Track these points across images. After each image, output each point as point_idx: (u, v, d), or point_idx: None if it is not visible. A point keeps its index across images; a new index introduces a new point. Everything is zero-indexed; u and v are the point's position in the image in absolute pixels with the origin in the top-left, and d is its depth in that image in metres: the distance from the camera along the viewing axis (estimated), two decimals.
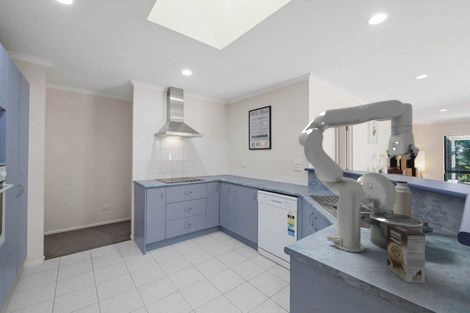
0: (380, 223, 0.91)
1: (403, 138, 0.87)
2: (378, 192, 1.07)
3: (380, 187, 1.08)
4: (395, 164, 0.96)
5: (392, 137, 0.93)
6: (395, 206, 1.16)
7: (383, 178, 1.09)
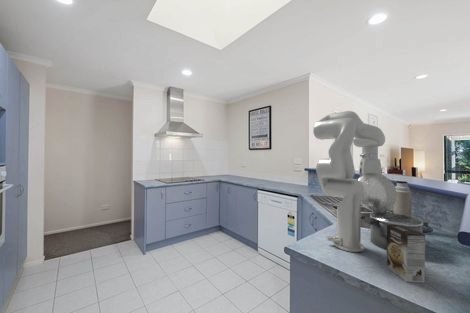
0: (380, 223, 0.91)
1: (380, 164, 1.10)
2: (378, 192, 1.07)
3: (380, 187, 1.08)
4: None
5: (369, 161, 1.10)
6: (395, 206, 1.16)
7: (383, 178, 1.09)
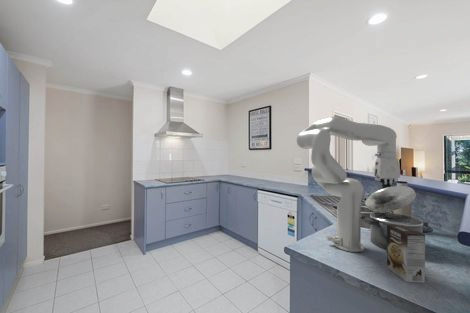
0: (380, 223, 0.91)
1: (398, 164, 0.97)
2: (392, 201, 0.97)
3: (398, 198, 0.95)
4: None
5: (386, 161, 0.97)
6: None
7: (409, 192, 0.92)
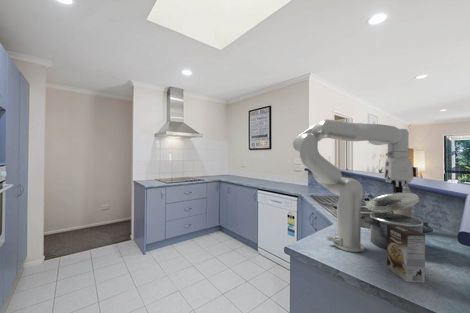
0: (380, 223, 0.91)
1: (411, 164, 0.90)
2: (393, 204, 0.96)
3: (401, 202, 0.94)
4: None
5: (398, 161, 0.90)
6: None
7: (412, 198, 0.90)
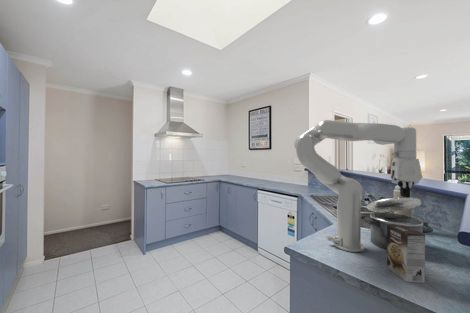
0: (380, 223, 0.91)
1: (419, 165, 0.86)
2: (394, 206, 0.96)
3: (402, 205, 0.93)
4: None
5: (405, 161, 0.86)
6: None
7: (414, 202, 0.89)
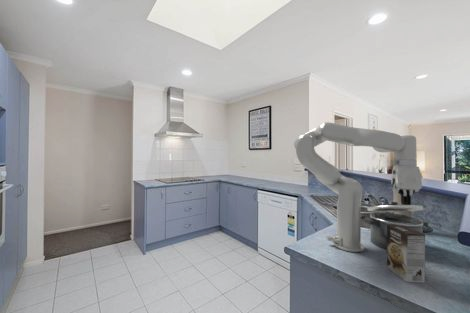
0: (380, 223, 0.91)
1: (420, 173, 0.86)
2: (395, 210, 0.95)
3: None
4: None
5: (406, 170, 0.86)
6: None
7: (416, 209, 0.88)
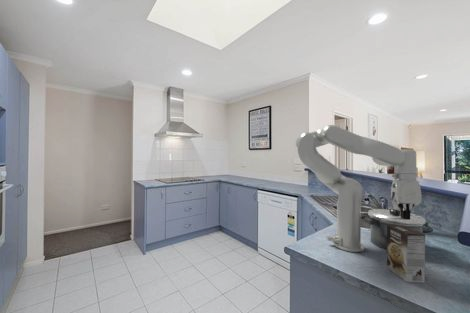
0: (380, 223, 0.91)
1: None
2: None
3: None
4: None
5: (406, 184, 0.86)
6: (395, 206, 1.16)
7: None
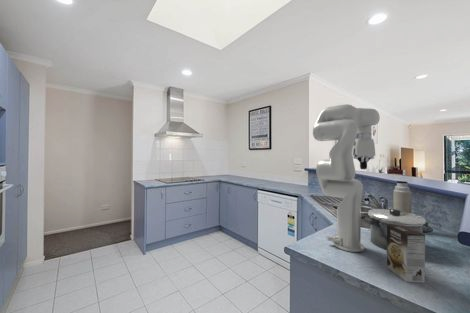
0: (380, 223, 0.91)
1: None
2: None
3: None
4: None
5: (363, 141, 1.10)
6: (395, 206, 1.16)
7: None
